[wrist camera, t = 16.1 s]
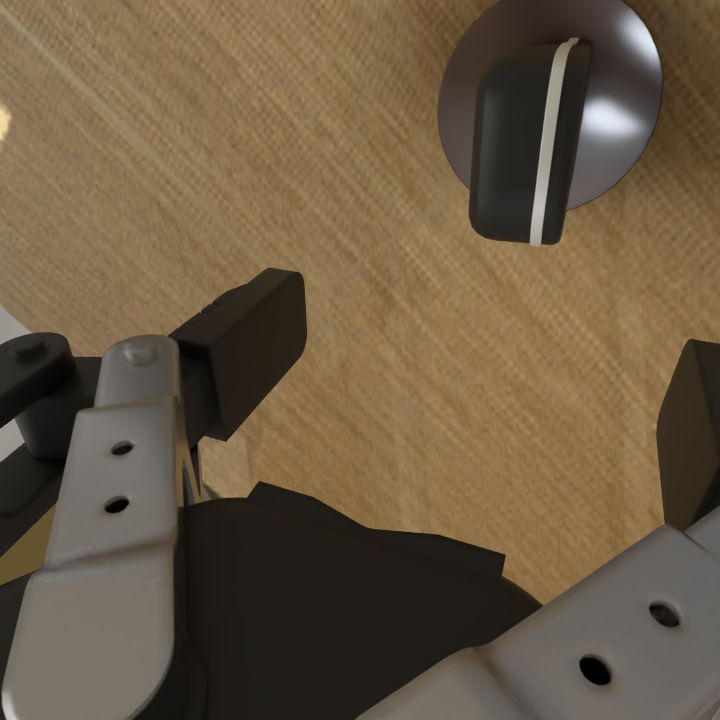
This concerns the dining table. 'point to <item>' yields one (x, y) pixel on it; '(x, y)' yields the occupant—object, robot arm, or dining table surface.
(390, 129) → the dining table surface
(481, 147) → the battery charger
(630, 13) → the brown round disc
